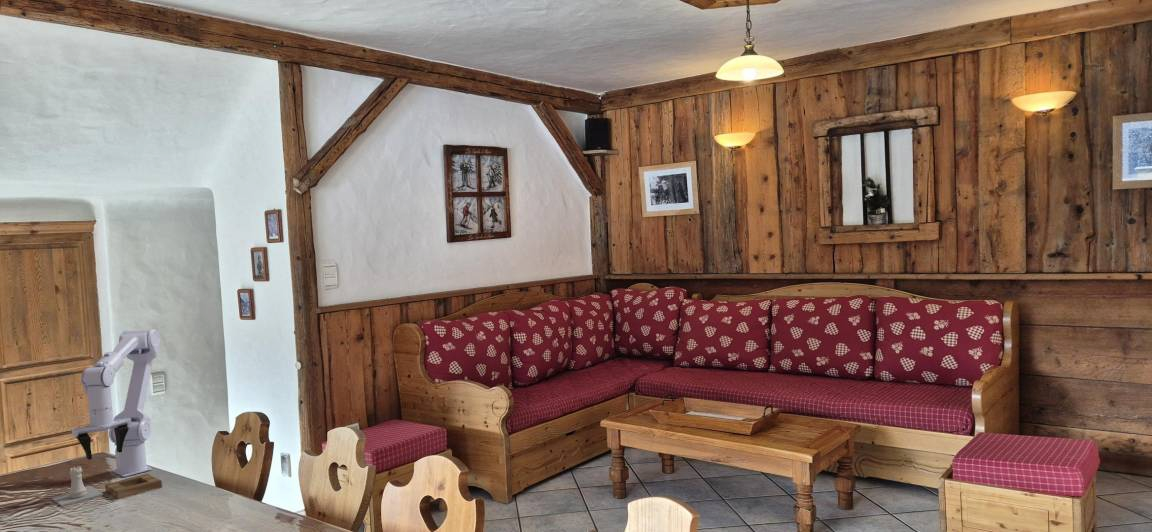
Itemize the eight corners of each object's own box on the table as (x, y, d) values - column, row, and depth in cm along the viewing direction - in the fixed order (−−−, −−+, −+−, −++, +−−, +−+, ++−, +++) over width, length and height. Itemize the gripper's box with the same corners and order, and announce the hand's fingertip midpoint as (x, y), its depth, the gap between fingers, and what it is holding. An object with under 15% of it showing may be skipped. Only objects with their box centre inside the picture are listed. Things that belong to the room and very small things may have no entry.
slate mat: (51, 499, 210) (51, 497, 210) (92, 488, 217) (92, 486, 217) (61, 506, 203) (61, 504, 203) (103, 495, 210) (103, 493, 210)
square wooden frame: (105, 491, 214) (105, 484, 214) (147, 480, 222) (147, 473, 222) (118, 499, 207) (118, 492, 206) (162, 487, 215) (161, 480, 215)
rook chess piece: (78, 499, 207) (76, 470, 206) (64, 499, 208) (61, 470, 207) (91, 493, 211) (88, 465, 211) (77, 493, 212) (74, 465, 212)
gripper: (75, 416, 208) (79, 464, 209) (133, 404, 219) (137, 450, 220) (67, 412, 213) (72, 460, 213) (124, 402, 223) (128, 447, 224)
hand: (104, 455), depth 217 cm, fingers open, 7 cm apart
